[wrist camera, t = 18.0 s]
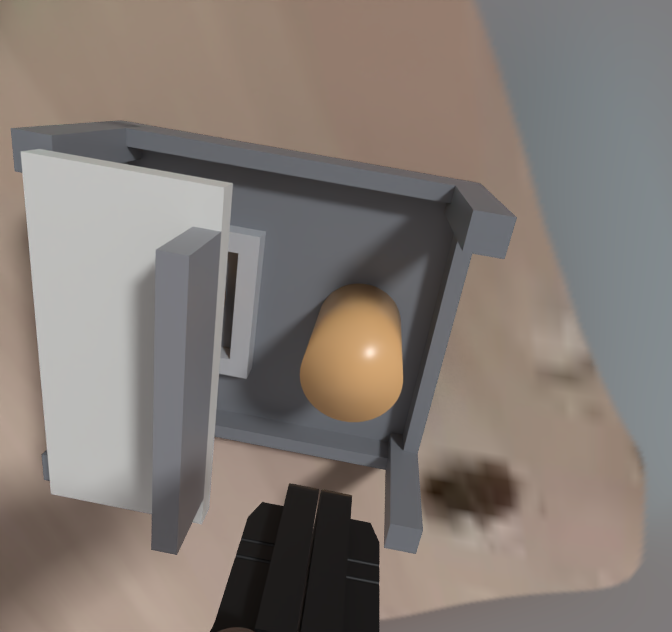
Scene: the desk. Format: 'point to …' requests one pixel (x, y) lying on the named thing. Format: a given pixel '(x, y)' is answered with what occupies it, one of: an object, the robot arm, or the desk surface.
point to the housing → (323, 293)
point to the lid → (128, 332)
